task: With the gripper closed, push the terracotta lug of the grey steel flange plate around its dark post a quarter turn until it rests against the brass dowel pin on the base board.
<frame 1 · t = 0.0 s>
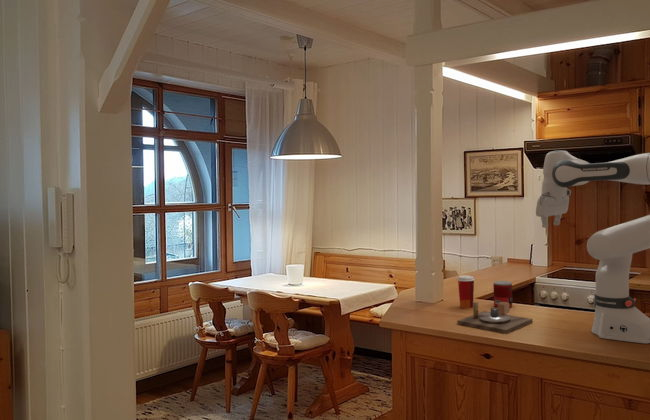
hand: (550, 226, 229), 39 cm above the countertop, tool pointing down, fingers open, 8 cm apart
paper cup: (466, 307, 263), on the countertop
flange: (496, 312, 235), point 4 cm above the countertop, hinge at 0.0°
base board: (494, 323, 234), on the countertop
canned food: (503, 306, 261), on the countertop
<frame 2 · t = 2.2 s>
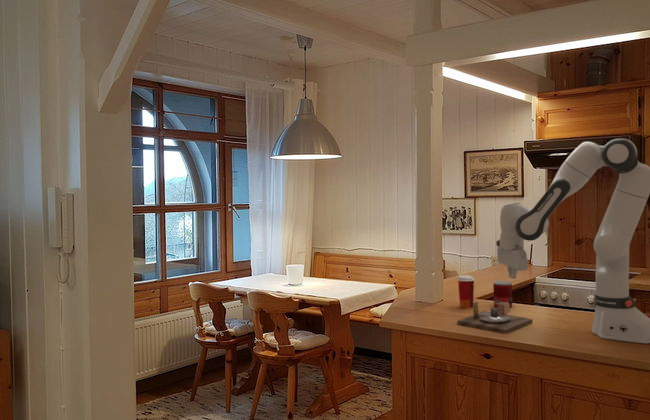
hand: (512, 278, 232), 19 cm above the countertop, tool pointing down, fingers closed
nothing on the countertop moved.
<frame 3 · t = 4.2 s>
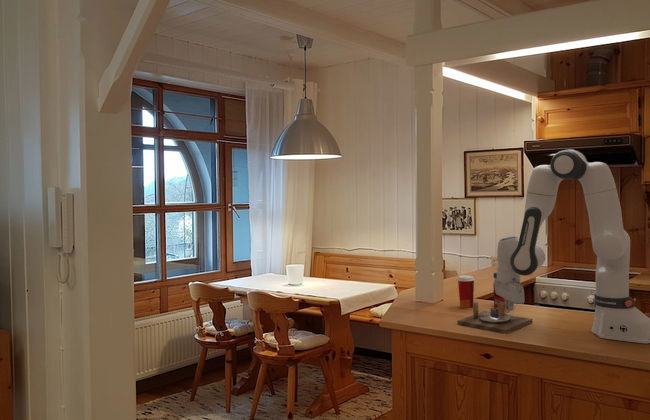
hand: (509, 310, 236), 5 cm above the countertop, tool pointing down, fingers closed
flange: (496, 312, 235), point 4 cm above the countertop, hinge at 0.3°, touching gripper
everything else where it was.
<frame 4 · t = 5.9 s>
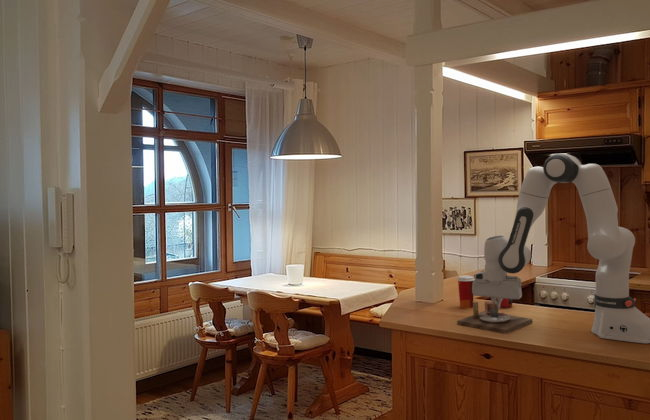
hand: (497, 307, 241), 5 cm above the countertop, tool pointing down, fingers closed
flange: (493, 311, 236), point 4 cm above the countertop, hinge at 46.9°, touching gripper
everything else where it was.
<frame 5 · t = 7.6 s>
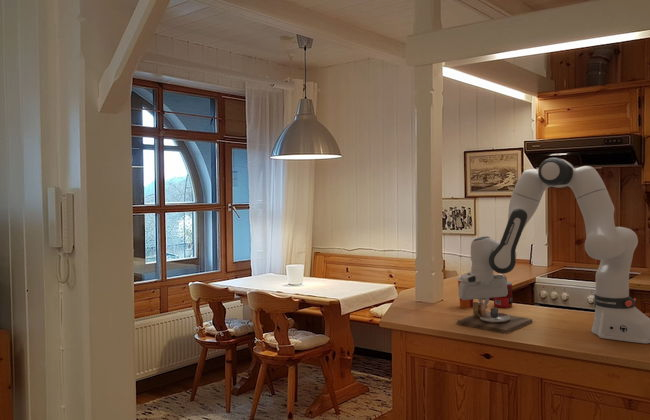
hand: (484, 308, 241), 4 cm above the countertop, tool pointing down, fingers closed
flange: (491, 312, 235), point 4 cm above the countertop, hinge at 90.0°, touching base board, gripper
everything else where it was.
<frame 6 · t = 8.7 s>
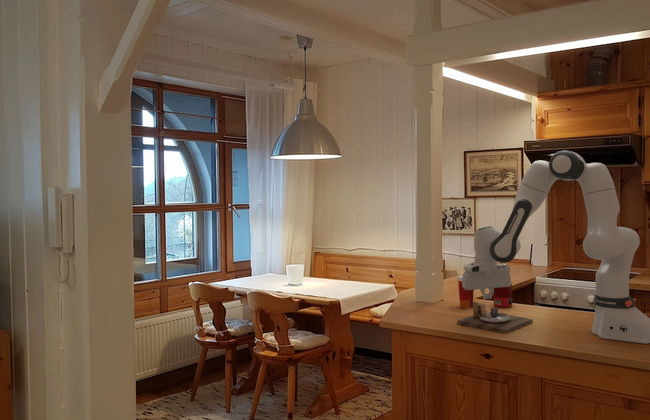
hand: (487, 298, 240), 9 cm above the countertop, tool pointing down, fingers closed
flange: (491, 312, 235), point 4 cm above the countertop, hinge at 90.0°
everything else where it was.
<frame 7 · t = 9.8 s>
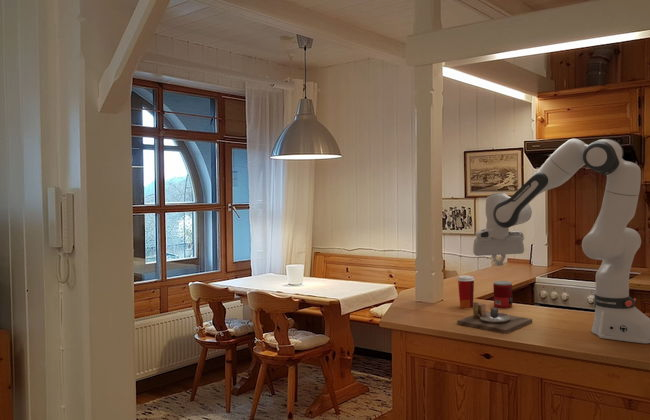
hand: (499, 265, 240), 22 cm above the countertop, tool pointing down, fingers closed
nothing on the countertop moved.
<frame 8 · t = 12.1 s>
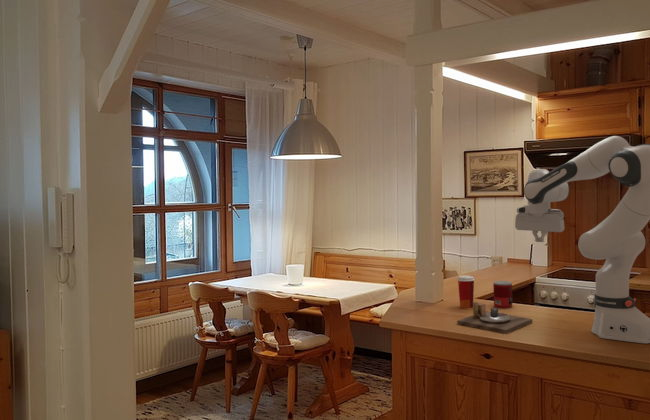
hand: (539, 241, 242), 31 cm above the countertop, tool pointing down, fingers closed
nothing on the countertop moved.
at the end: flange at +90° (first picture: +0°) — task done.
